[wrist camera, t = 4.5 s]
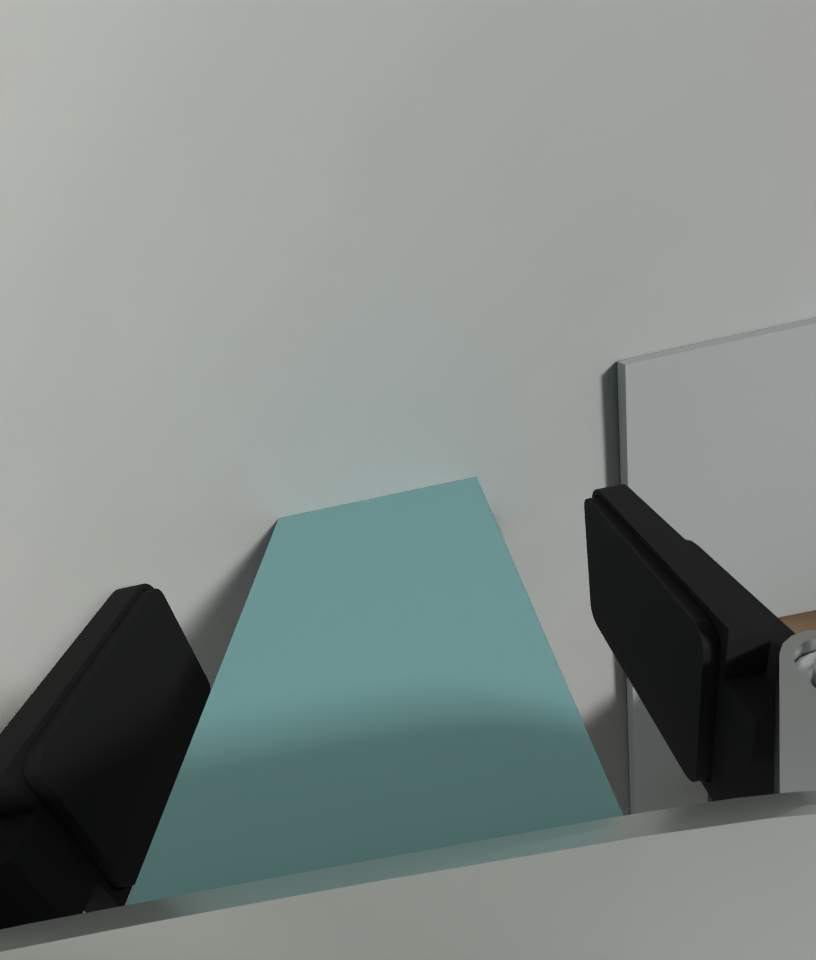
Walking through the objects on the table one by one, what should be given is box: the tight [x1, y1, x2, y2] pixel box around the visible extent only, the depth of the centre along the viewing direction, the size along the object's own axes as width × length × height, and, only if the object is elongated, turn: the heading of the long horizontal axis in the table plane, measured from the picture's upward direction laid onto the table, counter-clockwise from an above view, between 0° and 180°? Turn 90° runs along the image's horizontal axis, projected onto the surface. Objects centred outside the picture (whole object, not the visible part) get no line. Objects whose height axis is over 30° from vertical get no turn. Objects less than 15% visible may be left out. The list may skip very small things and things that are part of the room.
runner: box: [617, 318, 816, 814], centre depth 17 cm, size 29×10×1 cm, turn 12°
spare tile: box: [127, 477, 624, 905], centre depth 8 cm, size 2×5×10 cm, turn 102°
